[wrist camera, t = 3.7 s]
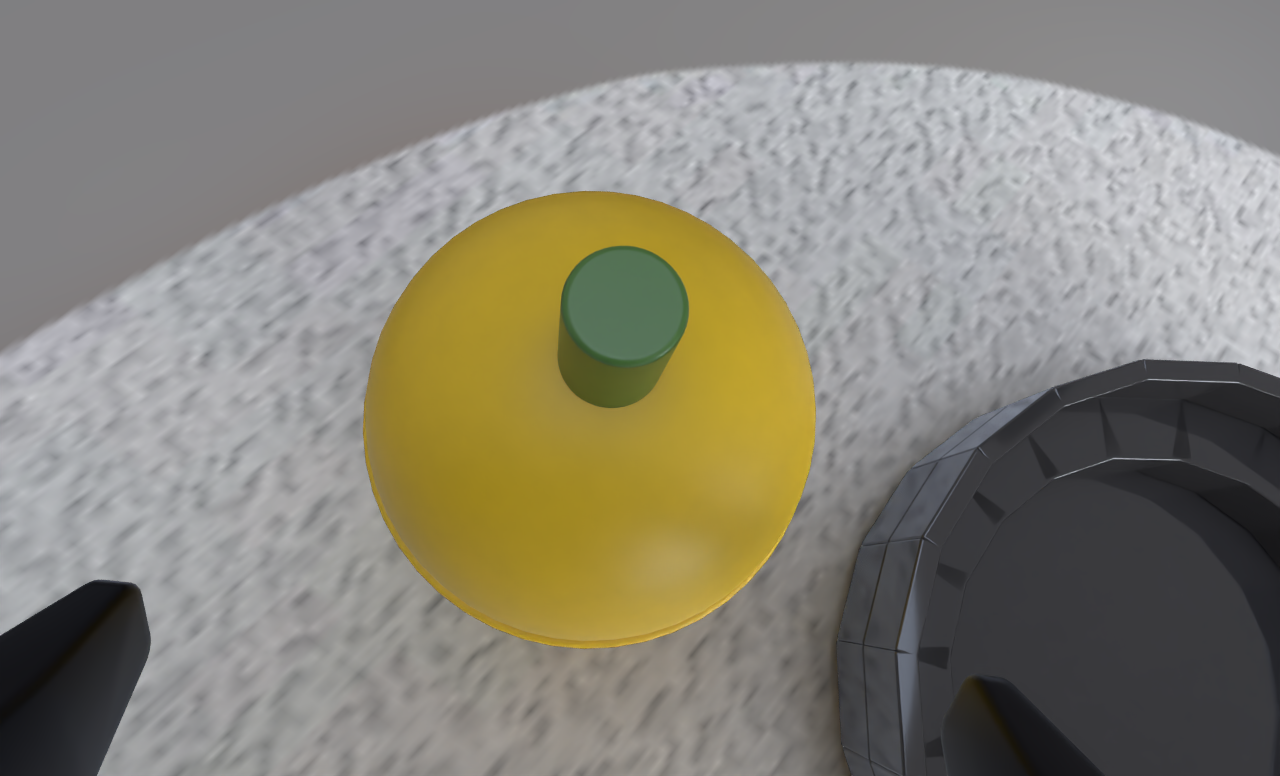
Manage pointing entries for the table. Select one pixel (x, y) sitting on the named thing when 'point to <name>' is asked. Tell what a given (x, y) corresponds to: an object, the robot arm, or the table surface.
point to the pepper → (589, 419)
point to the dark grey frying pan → (1083, 577)
